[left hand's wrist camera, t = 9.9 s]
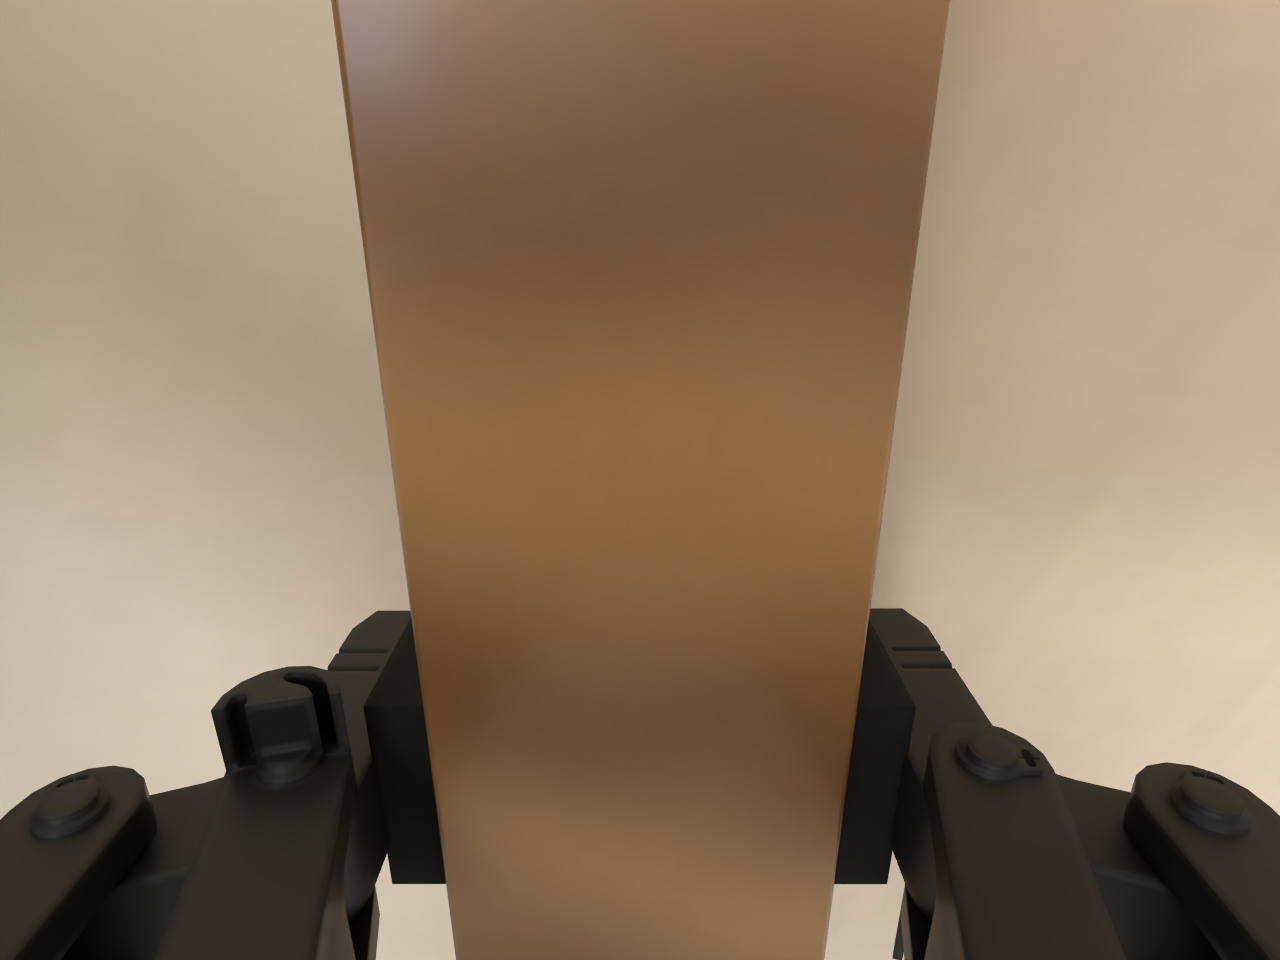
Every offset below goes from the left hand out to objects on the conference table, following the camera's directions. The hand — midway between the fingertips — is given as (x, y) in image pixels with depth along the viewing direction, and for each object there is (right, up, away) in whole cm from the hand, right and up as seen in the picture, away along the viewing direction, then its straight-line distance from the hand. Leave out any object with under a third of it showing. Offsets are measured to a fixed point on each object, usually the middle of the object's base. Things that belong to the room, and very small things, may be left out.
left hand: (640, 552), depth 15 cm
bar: (0, +27, -10) cm, 28 cm away
